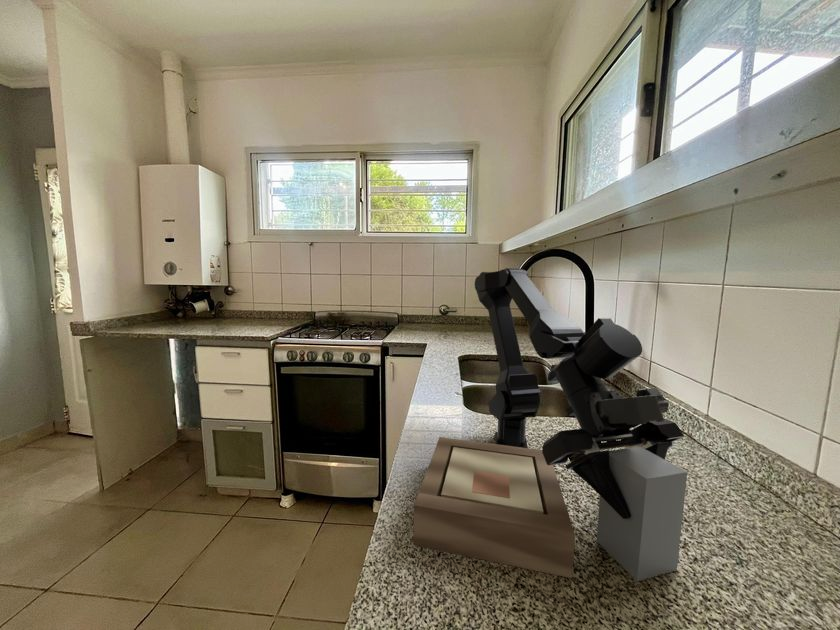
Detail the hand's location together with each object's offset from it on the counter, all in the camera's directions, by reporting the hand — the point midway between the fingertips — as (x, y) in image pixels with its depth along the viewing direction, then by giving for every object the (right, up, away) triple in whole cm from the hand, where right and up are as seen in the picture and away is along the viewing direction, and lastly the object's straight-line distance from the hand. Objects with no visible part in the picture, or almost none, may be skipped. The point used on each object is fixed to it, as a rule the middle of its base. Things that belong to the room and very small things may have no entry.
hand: (649, 513), depth 39 cm
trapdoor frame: (-17, -5, +10) cm, 20 cm away
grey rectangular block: (0, -6, +2) cm, 7 cm away
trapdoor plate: (-17, -1, +10) cm, 19 cm away
